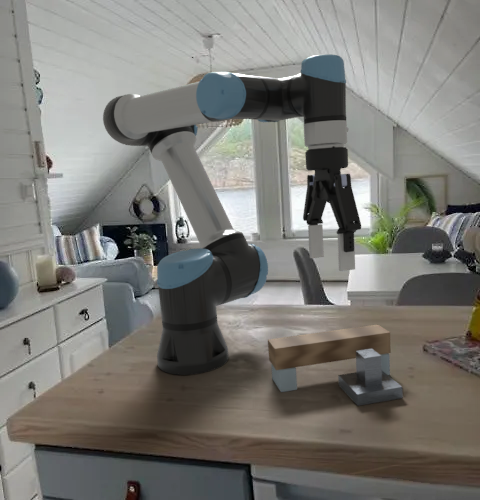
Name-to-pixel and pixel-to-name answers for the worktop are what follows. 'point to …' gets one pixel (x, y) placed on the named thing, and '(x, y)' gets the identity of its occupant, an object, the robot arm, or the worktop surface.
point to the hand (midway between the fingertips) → (330, 263)
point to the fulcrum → (369, 380)
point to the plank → (327, 346)
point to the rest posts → (288, 379)
